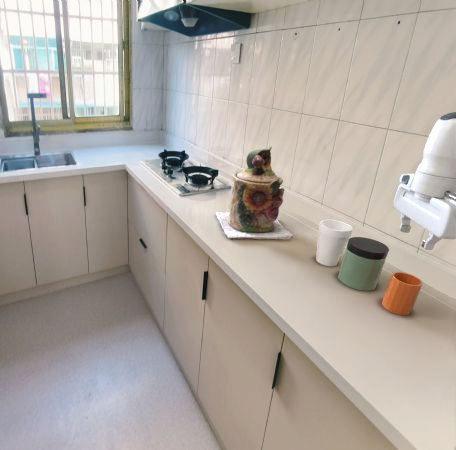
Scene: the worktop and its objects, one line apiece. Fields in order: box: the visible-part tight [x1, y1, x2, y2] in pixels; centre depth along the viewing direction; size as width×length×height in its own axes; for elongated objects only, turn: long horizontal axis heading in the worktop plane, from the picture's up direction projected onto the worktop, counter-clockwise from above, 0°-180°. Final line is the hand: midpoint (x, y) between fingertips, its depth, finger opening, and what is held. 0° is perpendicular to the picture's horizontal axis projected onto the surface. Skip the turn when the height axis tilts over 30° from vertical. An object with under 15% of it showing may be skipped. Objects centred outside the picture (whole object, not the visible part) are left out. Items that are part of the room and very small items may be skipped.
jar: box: [337, 246, 387, 292], centre depth 98 cm, size 10×10×12 cm
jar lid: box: [346, 236, 390, 259], centre depth 96 cm, size 10×10×2 cm
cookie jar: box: [215, 145, 293, 240], centre depth 128 cm, size 25×25×32 cm
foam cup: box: [315, 218, 354, 267], centre depth 108 cm, size 10×9×13 cm
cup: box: [381, 271, 423, 316], centre depth 87 cm, size 6×6×9 cm
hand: (414, 239), depth 83 cm, fingers open, 8 cm apart
